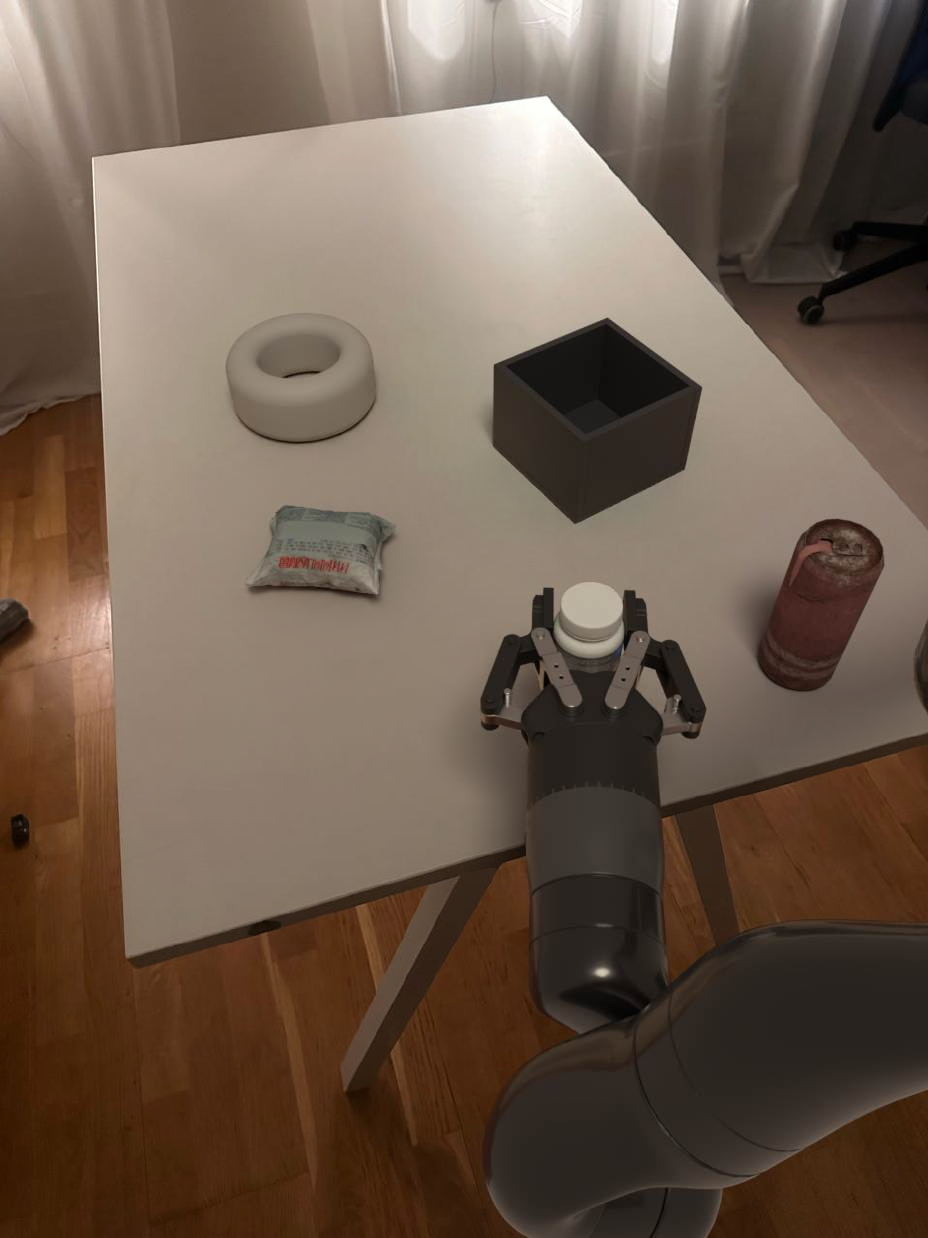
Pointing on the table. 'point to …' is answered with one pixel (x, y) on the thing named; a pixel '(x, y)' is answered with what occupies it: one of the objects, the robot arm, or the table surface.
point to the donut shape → (303, 401)
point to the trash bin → (593, 417)
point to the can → (820, 602)
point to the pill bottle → (590, 628)
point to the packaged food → (323, 550)
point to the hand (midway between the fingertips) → (587, 597)
